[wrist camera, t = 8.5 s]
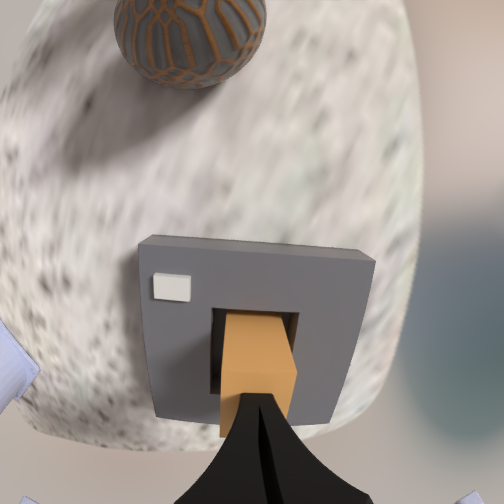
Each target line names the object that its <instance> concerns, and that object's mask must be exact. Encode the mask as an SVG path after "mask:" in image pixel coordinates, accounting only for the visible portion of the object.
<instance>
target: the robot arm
mask: <svg viewBox="0 0 504 504" xmlns="http://www.w3.org/2000/svg"><path fill="white" fill-rule="evenodd" d="M39 372H40V368H39V367H38V365H37V364H36V363H35V362H34V361H33V360H32V359H31V358H30V356H29V355H28V354H27V353H26V352H25V351H24V349H23V348H22V347H21V346H20V345H19V343H18V342H17V341H16V340H15V338H14V337H13V336H12V335H11V333H10V332H9V331H8V329H7V328H6V327H5V325H4V324H3V323H2V321H1V320H0V414H1V413H2V411H3V410H4V409H5V408H6V406H7V405H8V404H9V403H10V401H11V400H12V399H13V398H14V399H15V400H16V401H18V400H19V399H20V398H21V396H22V395H23V393H24V392H25V391H26V389H27V388H28V387H29V385H30V384H31V383H32V381H33V380H34V379H35V377H36V376H37V375H38V373H39ZM20 504H39V503H37V502H35V501H33V500H32V499H30V498H29V497H27V496H23V497H22V499H21V502H20ZM174 504H373V502H372V500H371V498H370V496H369V495H368V494H366V493H364V492H362V491H360V490H358V489H356V488H355V487H353V486H351V485H350V484H348V483H347V482H345V481H344V480H342V479H341V478H340V477H338V476H337V475H336V474H334V473H333V472H332V471H331V470H329V469H328V468H327V467H326V466H324V465H323V464H322V463H321V462H320V461H319V460H318V459H317V458H316V457H315V456H314V455H313V454H312V453H311V452H310V451H309V450H308V449H307V447H306V446H305V445H304V444H303V443H302V441H301V440H300V439H299V437H298V436H297V435H296V433H295V432H294V431H293V429H292V428H291V426H290V425H289V423H288V422H287V420H286V418H285V417H284V415H283V413H282V412H281V410H280V408H279V406H278V404H277V402H276V400H275V398H274V395H273V394H272V393H241V394H240V401H239V406H238V410H237V413H236V416H235V419H234V421H233V424H232V427H231V429H230V431H229V433H228V435H227V437H226V439H225V441H224V443H223V445H222V447H221V448H220V450H219V452H218V453H217V455H216V456H215V458H214V459H213V461H212V462H211V463H210V465H209V466H208V468H207V469H206V470H205V472H204V473H203V474H202V475H201V476H200V477H199V479H198V480H197V481H196V482H195V483H194V484H193V485H192V486H191V487H190V488H189V490H187V491H186V492H185V493H184V494H183V495H182V496H181V497H180V498H179V499H178V500H176V501H175V503H174ZM454 504H484V503H483V501H482V500H481V498H480V496H479V495H478V493H477V491H476V490H474V491H473V492H471V493H469V494H468V495H466V496H464V497H463V498H461V499H460V500H458V501H456V502H455V503H454Z"/></svg>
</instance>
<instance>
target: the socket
mask: <svg viewBox="0 0 504 504" xmlns="http://www.w3.org/2000/svg"><path fill="white" fill-rule="evenodd" d="M138 252H139V282H140V299H141V313H142V324H143V334H144V343H145V352H146V360H147V367H148V374H149V380H150V387H151V393H152V398H153V404H154V409H155V414H156V417H159V418H166V419H172V420H179V421H187V422H196V423H206V424H218V425H220V403H221V372H222V359H223V348H224V337H225V326H226V315H227V309H240V310H257V311H277V312H280V315H281V318H282V322H283V325H284V328H285V332H286V335H287V339H288V342H289V346H290V349H291V353H292V356H293V359H294V363H295V366H296V370H297V376H296V381H295V385H294V389H293V394H292V398H291V402H290V406H289V410H288V414H287V418H286V420H287V422H288V423H289V425H290V426H298V425H314V424H326V423H329V422H330V420H331V417H332V414H333V412H334V409H335V407H336V404H337V401H338V398H339V396H340V393H341V390H342V387H343V384H344V381H345V378H346V375H347V372H348V369H349V366H350V363H351V360H352V357H353V353H354V350H355V346H356V343H357V339H358V336H359V332H360V329H361V325H362V321H363V317H364V313H365V309H366V305H367V301H368V296H369V292H370V287H371V283H372V278H373V273H374V268H375V263H376V261H375V260H374V259H372V258H371V257H369V256H367V255H366V254H364V253H363V252H361V251H359V250H354V249H342V248H330V247H317V246H305V245H292V244H279V243H266V242H252V241H239V240H225V239H210V238H196V237H181V236H166V235H151V236H150V237H148V238H147V239H145V240H144V241H142V242H141V243H139V244H138Z"/></svg>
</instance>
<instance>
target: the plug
mask: <svg viewBox="0 0 504 504" xmlns="http://www.w3.org/2000/svg"><path fill="white" fill-rule="evenodd" d="M296 376H297V370H296V366H295V363H294V359H293V356H292V353H291V349H290V346H289V342H288V339H287V335H286V332H285V328H284V325H283V322H282V318H281V315H280V312H277V311H257V310H240V309H227V315H226V326H225V337H224V348H223V359H222V372H221V403H220V437H224V438H226V437H227V435H228V433H229V431H230V429H231V427H232V424H233V421H234V419H235V416H236V413H237V410H238V406H239V401H240V394H241V393H272V394H273V395H274V398H275V400H276V402H277V404H278V406H279V408H280V410H281V412H282V413H283V415H284V417H285V418H287V414H288V410H289V406H290V402H291V398H292V394H293V389H294V385H295V381H296Z"/></svg>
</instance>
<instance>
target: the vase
mask: <svg viewBox="0 0 504 504" xmlns="http://www.w3.org/2000/svg"><path fill="white" fill-rule="evenodd" d="M266 17H267V13H266V5H265V1H264V0H118V2H117V5H116V8H115V13H114V31H115V36H116V40H117V43H118V46H119V48H120V51H121V52H122V54H123V56H124V58H125V59H126V60H127V61H128V63H129V64H130V65H131V66H132V67H133V68H134V69H135V70H136V71H138V72H139V73H140V74H141V75H143V76H144V77H146V78H147V79H149V80H151V81H153V82H155V83H158V84H160V85H163V86H167V87H171V88H178V89H197V88H204V87H208V86H212V85H215V84H217V83H220V82H222V81H224V80H226V79H228V78H230V77H231V76H233V75H234V74H236V73H237V72H238V71H239V70H241V69H242V68H243V67H244V66H245V65H246V64H247V63H248V62H249V61H250V60H251V58H252V57H253V56H254V54H255V53H256V51H257V50H258V48H259V46H260V43H261V41H262V38H263V35H264V31H265V27H266Z"/></svg>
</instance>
